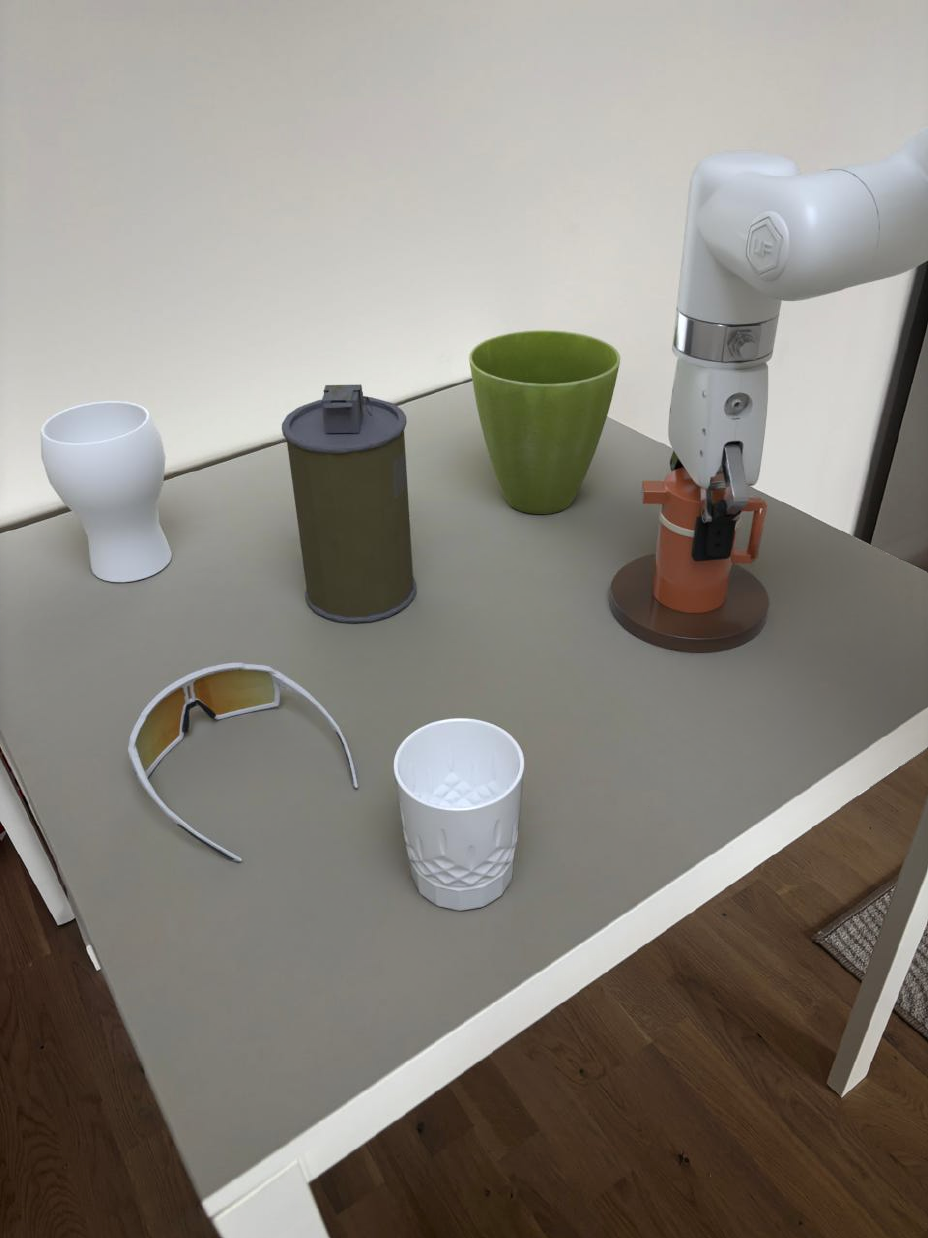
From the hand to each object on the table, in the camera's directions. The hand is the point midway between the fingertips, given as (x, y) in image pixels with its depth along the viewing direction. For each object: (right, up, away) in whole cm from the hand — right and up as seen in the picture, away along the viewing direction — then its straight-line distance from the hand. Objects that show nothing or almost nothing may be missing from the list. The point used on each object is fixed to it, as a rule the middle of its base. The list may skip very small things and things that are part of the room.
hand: (696, 533), depth 84 cm
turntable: (0, -6, +4) cm, 8 cm away
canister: (-30, -5, +8) cm, 31 cm away
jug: (0, -5, +4) cm, 6 cm away
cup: (-53, -2, +13) cm, 55 cm away
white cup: (-20, -24, -19) cm, 37 cm away
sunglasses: (-37, -19, -11) cm, 43 cm away
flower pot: (-12, +6, +22) cm, 25 cm away
